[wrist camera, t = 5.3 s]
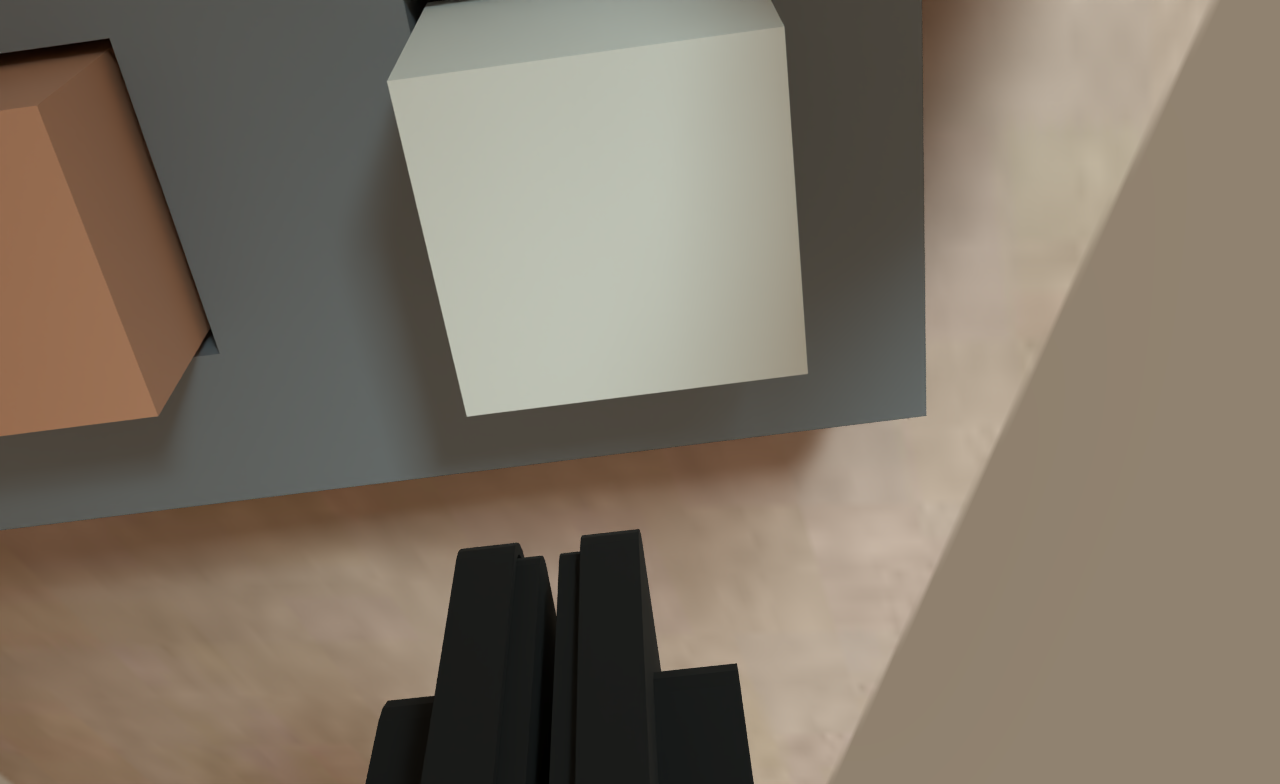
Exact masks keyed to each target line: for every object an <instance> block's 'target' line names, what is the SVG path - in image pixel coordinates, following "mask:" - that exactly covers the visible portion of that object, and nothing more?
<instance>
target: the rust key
mask: <svg viewBox="0 0 1280 784" xmlns="http://www.w3.org/2000/svg"><path fill="white" fill-rule="evenodd" d="M210 328H211V327H210V324H209V321H208V319H207V316H206V313H205V310H204V307H203V304H202V301H201V299H200V296H199V293H198V290H197V287H196V284H195V281H194V279H193V276H192V273H191V270H190V267H189V264H188V261H187V259H186V256H185V253H184V250H183V247H182V244H181V241H180V239H179V236H178V233H177V230H176V227H175V224H174V221H173V218H172V216H171V213H170V210H169V207H168V204H167V201H166V198H165V196H164V193H163V190H162V187H161V184H160V181H159V178H158V176H157V173H156V170H155V167H154V164H153V161H152V158H151V156H150V153H149V150H148V147H147V144H146V141H145V138H144V136H143V133H142V130H141V127H140V124H139V121H138V118H137V116H136V113H135V110H134V107H133V104H132V101H131V98H130V96H129V93H128V90H127V87H126V84H125V81H124V78H123V75H122V73H121V70H120V67H119V64H118V61H117V58H116V55H115V53H114V50H113V47H112V44H111V41H110V38H107V39H100V40H93V41H86V42H79V43H72V44H64V45H57V46H50V47H43V48H36V49H29V50H22V51H14V52H7V53H0V436H7V435H14V434H22V433H30V432H38V431H46V430H54V429H62V428H70V427H77V426H85V425H93V424H101V423H109V422H117V421H125V420H133V419H141V418H148V417H156V416H159V414H160V412H161V411H162V409H163V407H164V406H165V404H166V402H167V401H168V399H169V397H170V395H171V394H172V392H173V390H174V389H175V387H176V385H177V384H178V382H179V380H180V379H181V377H182V375H183V373H184V372H185V370H186V368H187V367H188V365H189V363H190V362H191V360H192V358H193V356H194V355H195V353H196V351H197V350H198V348H199V346H200V345H201V343H202V341H203V339H204V338H205V336H206V334H207V333H208V331H209V329H210Z"/></svg>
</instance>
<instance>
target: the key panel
mask: <svg viewBox="0 0 1280 784" xmlns="http://www.w3.org/2000/svg"><path fill="white" fill-rule="evenodd" d="M435 1H442V0H0V53H7V52H14V51H22V50H29V49H36V48H43V47H50V46H57V45H64V44H72V43H79V42H86V41H93V40H100V39H107V38H110V41H111V44H112V47H113V50H114V53H115V55H116V58H117V61H118V64H119V67H120V70H121V73H122V75H123V78H124V81H125V84H126V87H127V90H128V93H129V96H130V98H131V101H132V104H133V107H134V110H135V113H136V116H137V118H138V121H139V124H140V127H141V130H142V133H143V136H144V138H145V141H146V144H147V147H148V150H149V153H150V156H151V158H152V161H153V164H154V167H155V170H156V173H157V176H158V178H159V181H160V184H161V187H162V190H163V193H164V196H165V198H166V201H167V204H168V207H169V210H170V213H171V216H172V218H173V221H174V224H175V227H176V230H177V233H178V236H179V239H180V241H181V244H182V247H183V250H184V253H185V256H186V259H187V261H188V264H189V267H190V270H191V273H192V276H193V279H194V281H195V284H196V287H197V290H198V293H199V296H200V299H201V301H202V304H203V307H204V310H205V313H206V316H207V319H208V321H209V324H210V327H211V328H210V329H209V331H208V333H207V334H206V336H205V338H204V339H203V341H202V343H201V345H200V346H199V348H198V350H197V351H196V353H195V355H194V356H193V358H192V360H191V362H190V363H189V365H188V367H187V368H186V370H185V372H184V373H183V375H182V377H181V379H180V380H179V382H178V384H177V385H176V387H175V389H174V390H173V392H172V394H171V395H170V397H169V399H168V401H167V402H166V404H165V406H164V407H163V409H162V411H161V412H160V414H159V416H156V417H148V418H141V419H133V420H125V421H117V422H109V423H101V424H93V425H85V426H77V427H70V428H62V429H54V430H46V431H38V432H30V433H22V434H14V435H7V436H0V530H6V529H14V528H22V527H30V526H38V525H47V524H55V523H63V522H71V521H79V520H87V519H95V518H103V517H111V516H119V515H128V514H136V513H144V512H152V511H160V510H168V509H176V508H184V507H192V506H200V505H208V504H217V503H225V502H233V501H241V500H249V499H257V498H265V497H273V496H281V495H289V494H297V493H306V492H314V491H322V490H330V489H338V488H346V487H354V486H362V485H370V484H378V483H386V482H395V481H403V480H411V479H419V478H427V477H435V476H443V475H451V474H459V473H467V472H475V471H484V470H492V469H500V468H508V467H516V466H524V465H532V464H540V463H548V462H556V461H564V460H573V459H581V458H589V457H597V456H605V455H613V454H621V453H629V452H637V451H645V450H653V449H662V448H670V447H678V446H686V445H694V444H702V443H710V442H718V441H726V440H734V439H742V438H751V437H759V436H767V435H775V434H783V433H791V432H799V431H807V430H815V429H823V428H831V427H840V426H848V425H856V424H864V423H872V422H880V421H888V420H896V419H904V418H912V417H921V416H926V344H925V248H924V152H923V56H922V0H771V1H772V3H773V5H774V7H775V9H776V11H777V13H778V15H779V17H780V19H781V21H782V23H783V25H784V27H785V42H786V57H787V71H788V86H789V101H790V116H791V131H792V145H793V160H794V175H795V190H796V205H797V219H798V234H799V249H800V264H801V278H802V293H803V308H804V323H805V338H806V352H807V367H808V374H803V375H795V376H787V377H779V378H771V379H763V380H755V381H747V382H739V383H731V384H723V385H715V386H707V387H699V388H691V389H683V390H675V391H667V392H659V393H651V394H643V395H635V396H627V397H619V398H611V399H603V400H596V401H588V402H580V403H572V404H564V405H556V406H548V407H540V408H532V409H524V410H516V411H508V412H500V413H492V414H484V415H476V416H468V417H467V415H466V411H465V407H464V403H463V399H462V394H461V390H460V386H459V382H458V378H457V373H456V369H455V365H454V361H453V357H452V352H451V348H450V344H449V340H448V336H447V331H446V327H445V323H444V319H443V315H442V310H441V306H440V302H439V298H438V294H437V289H436V285H435V281H434V277H433V273H432V268H431V264H430V260H429V256H428V252H427V247H426V243H425V239H424V235H423V231H422V226H421V222H420V218H419V214H418V210H417V205H416V201H415V197H414V193H413V189H412V184H411V180H410V176H409V172H408V168H407V163H406V159H405V155H404V151H403V147H402V142H401V138H400V134H399V130H398V126H397V121H396V117H395V113H394V109H393V105H392V100H391V96H390V92H389V88H388V84H387V80H388V78H389V76H390V74H391V72H392V70H393V68H394V66H395V64H396V62H397V60H398V59H399V57H400V55H401V53H402V51H403V49H404V47H405V45H406V43H407V41H408V39H409V37H410V35H411V33H412V31H413V29H414V27H415V25H416V23H417V22H418V20H419V18H420V16H421V14H422V12H423V10H424V8H425V6H426V4H427V3H428V2H435Z"/></svg>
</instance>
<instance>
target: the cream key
mask: <svg viewBox="0 0 1280 784" xmlns="http://www.w3.org/2000/svg"><path fill="white" fill-rule="evenodd" d="M387 84H388V88H389V92H390V96H391V100H392V105H393V109H394V113H395V117H396V121H397V126H398V130H399V134H400V138H401V142H402V147H403V151H404V155H405V159H406V163H407V168H408V172H409V176H410V180H411V184H412V189H413V193H414V197H415V201H416V205H417V210H418V214H419V218H420V222H421V226H422V231H423V235H424V239H425V243H426V247H427V252H428V256H429V260H430V264H431V268H432V273H433V277H434V281H435V285H436V289H437V294H438V298H439V302H440V306H441V310H442V315H443V319H444V323H445V327H446V331H447V336H448V340H449V344H450V348H451V352H452V357H453V361H454V365H455V369H456V373H457V378H458V382H459V386H460V390H461V394H462V399H463V403H464V407H465V411H466V415H467V417H468V416H476V415H484V414H492V413H500V412H508V411H516V410H524V409H532V408H540V407H548V406H556V405H564V404H572V403H580V402H588V401H596V400H603V399H611V398H619V397H627V396H635V395H643V394H651V393H659V392H667V391H675V390H683V389H691V388H699V387H707V386H715V385H723V384H731V383H739V382H747V381H755V380H763V379H771V378H779V377H787V376H795V375H803V374H808V367H807V352H806V338H805V323H804V308H803V293H802V278H801V264H800V249H799V234H798V219H797V205H796V190H795V175H794V160H793V145H792V131H791V116H790V101H789V86H788V71H787V57H786V42H785V27H784V25H783V23H782V21H781V19H780V17H779V15H778V13H777V11H776V9H775V7H774V5H773V3H772V1H771V0H442V1H435V2H428V3H427V4H426V6H425V8H424V10H423V12H422V14H421V16H420V18H419V20H418V22H417V23H416V25H415V27H414V29H413V31H412V33H411V35H410V37H409V39H408V41H407V43H406V45H405V47H404V49H403V51H402V53H401V55H400V57H399V59H398V60H397V62H396V64H395V66H394V68H393V70H392V72H391V74H390V76H389V78H388V80H387Z"/></svg>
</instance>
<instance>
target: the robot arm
mask: <svg viewBox="0 0 1280 784" xmlns="http://www.w3.org/2000/svg"><path fill="white" fill-rule="evenodd" d="M366 784H754V782H753V775H752V768H751V761H750V753H749V746H748V739H747V732H746V724H745V717H744V710H743V703H742V695H741V688H740V681H739V674H738V668H737V663H736V664H727V665H718V666H708V667H699V668H690V669H680V670H671V671H662V672H661V667H660V660H659V653H658V647H657V640H656V633H655V626H654V619H653V612H652V606H651V599H650V592H649V585H648V578H647V572H646V565H645V558H644V551H643V544H642V538H641V533H640V530H639V529H636V530H627V531H618V532H609V533H600V534H591V535H582V537H581V543H580V552H571V553H562V554H560V558H559V575H558V597H557V617H556V612H555V607H554V602H553V597H552V592H551V587H550V582H549V577H548V572H547V567H546V563H545V560H544V557H543V556H535V557H526V558H524V555H523V551H522V548H521V546H520V544H519V543H510V544H501V545H493V546H484V547H475V548H466V549H460V551H459V552H458V555H457V559H456V565H455V571H454V578H453V584H452V590H451V596H450V603H449V609H448V615H447V621H446V628H445V634H444V640H443V646H442V653H441V659H440V665H439V671H438V678H437V684H436V690H435V696H429V697H419V698H410V699H401V700H391V701H387V703H386V704H385V706H384V707H383V709H382V712H381V715H380V719H379V722H378V726H377V731H376V736H375V741H374V746H373V750H372V755H371V760H370V765H369V769H368V774H367V779H366Z"/></svg>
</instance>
